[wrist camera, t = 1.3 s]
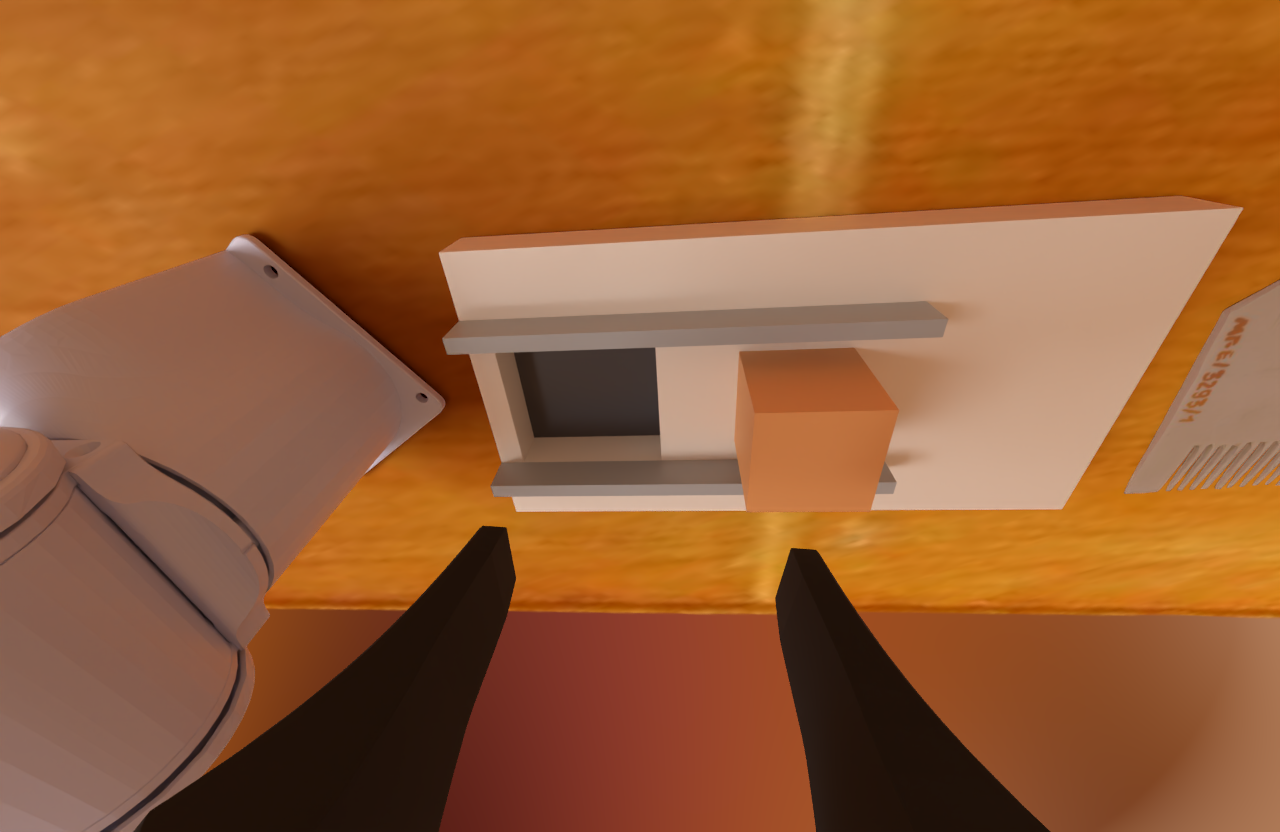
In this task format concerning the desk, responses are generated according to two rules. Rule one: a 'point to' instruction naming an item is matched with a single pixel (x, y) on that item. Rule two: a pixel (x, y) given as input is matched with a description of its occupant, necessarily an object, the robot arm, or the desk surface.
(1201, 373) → the grooming comb
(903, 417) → the trough
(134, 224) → the desk surface
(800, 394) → the block
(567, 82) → the desk surface
